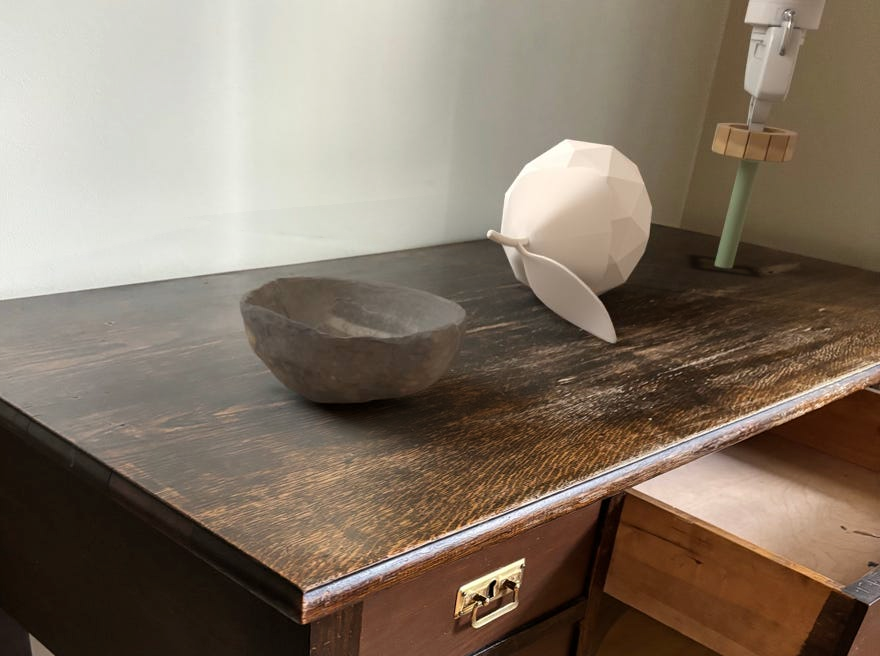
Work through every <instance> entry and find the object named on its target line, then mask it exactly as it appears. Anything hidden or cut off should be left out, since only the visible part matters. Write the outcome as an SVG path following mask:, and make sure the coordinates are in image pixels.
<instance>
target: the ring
mask: <svg viewBox="0 0 880 656" xmlns="http://www.w3.org/2000/svg"><path fill="white" fill-rule="evenodd" d="M748 126H749V124H747V123H737V122H736V123H735V122H718V123H717V124H716V127H715V131H714V136H713V141H712V145H711V151H712V152H713V153H715V154H719V155H722V156H727V157H732V158H737V159H747V160H755V161H759V162H769V163H771V162H773V163H785V162H792V159H793V156H794V153H795V149H796V145H797V141H798V138H799V134H798V133H797V131H793V130H788V129H784V128H780V127H773V126H766V125H764V129H763V132H757V131H750V130H748Z"/></svg>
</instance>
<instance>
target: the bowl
mask: <svg viewBox="0 0 880 656" xmlns="http://www.w3.org/2000/svg"><path fill="white" fill-rule="evenodd" d="M239 311H240V315H241V318H242V321H243V327H244V331H245V336H246V339H247V343H248V345H249V346H250V348H251V350H252V352H253V354H255V356H257V358H258V359H260V361H261V362H262V363H263V364H264V365H265V366H266V368H268V370H269V371H270V373H271V374H272V375H273V376H274V377H275V379H276V380H277V381H278V382H280V383H281V384H282V385H283V386H285V387H286V388H287V389H289V390H291V391H293V392H294V393H296V394H298V395H300V396H303V397H304V398H306V399H307V400H309V401H311V402H314V403H320V404H356V403H357V404H358V403H366V402H371V401H373V400H374V401H375V400H388V399H398V398H404V397H407V396H411V395H413V394H417V393H420V392H422V391H424V390H426V389H428V388H430V387H431V386H432V385H434V384H435V383H437V382H438V381H439V380H441V379H442V378H443V377H444V376H445V375H446V374H447V373H448V371H450V370H451V369H452V368H453V367H454V364H455V363H456V361H457V360H458V358H459V357H460V355H461V352H462V350H463V346H464V343H465V340H466V337H467V329H468V328H467V327H468V317H467V312H466V310H465V309H464V308H463V307H462V306H461V305H460V304H458V303H457V302H455V301H454V300H451V299H447V298H445V297H443V296H440V295H437V294H434V293H431V292H428V291H425V290H421V289H419V288H412V287H409V286H404V285H399V284H395V283H394V284H393V283H387V282H383V281H377V280H371V279H364V278H357V277H345V276H332V275H314V276H313V275H312V276H304V275H301V276H299V275H297V276H288V277H287V276H285V277H283V276H282V277H273V278H272V279H271V280H268V281H266V282H265V283H263V284H261V285H260V286H258V287H255V288H254V289H250V290H249V291H247V292H245V293H243V295H242V296H241V298H240V299H239Z"/></svg>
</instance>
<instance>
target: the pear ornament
mask: <svg viewBox="0 0 880 656" xmlns="http://www.w3.org/2000/svg"><path fill="white" fill-rule="evenodd" d="M651 203H652V202H651V199H650V197H649V194H648V190H647V188H646V184H645V182H644V180H643V177H642V175H641V172H640V170H639V167H638V165H637V164H636V163H634V162H633V161H632V160H631V159H629V158H628V156H626V155H624V154H623V153H622V152H621V151H619V150H618V149H617V148H616V147H614V145H608V144H603V143H595V142H590V141H589V142H588V141H583V140H582V141H581V140H575V139H568V138H565V139H564V140H562V141H561V142H559V143H558V144H556V145H554V146H553V147H552V148H550V149H548V150H547V151H545V152H544V153H542V154H541V155H539V156H537V157H536V158H534V159H533V160H531V161H530V162H528V163H526V164H525V165H524V167H523V168H522V169H521V171H520V172H519V174H518V175H517V176H516V178H515V179H514V181H513V182H512V184H511V185H510V186H509V188H508V189H507V191H506V192H505V193H504V201H503V209H502V217H501V226H500V232H498V231H497V230H496V231H495V230H494V229H489V230H488V231H487V233H486V237H487V239H489V240H491V241H493V242H495V243H497V244H499V245H501V246H502V248H503V251H504V253H505V255H506V258H507V261H508V263H509V265H510V267H511V269H512V271H513V272H512V273H514V276H515V279H516V280H517V281H519V282H521V283H522V284H524V285H526V286H527V287H529V288H530V289H531V290H532V291H533V293H534V295H535V296H536V297H537V298H538V299H539V300H540V301H541V302H542V303H543V304H544V305H545V306H546V307H547V308H548V309H550V310H551V311H552V312H554V313H555V314H557V315H558V316H560V317H561V318H563V319H564V320H566V321H567V322H569V323H571V324H572V325H575V326H576V327H578V328H580V329H581V330H584V331H585V332H587V333H589V334H591V335H594V336H595V337H597V338H599V339H601V340H603V341H604V342H607V343H609V342H610V344H616V342H617V335H616V330H615V328H614V325H613V322H612V319H611V317H610V314H609V312H608V311H607V308H606V307H605V305H604V304H603V302H602V300H601V299H600V298H599V296H601V295H603V294H605V293H607V292H608V291H609V292H610V291H611V290H613V289H614V288H617V287H619V286H621V285H622V284H625V283H626V282H627V280H628V279H629V277H630V275H631V274H632V272H633V271H634V269H635V268H636V266H637V265H638V263H639V262H640V261H641V258H642V257H643V255H644V253H645V252H646V248H647V245H648V241H649V238H650V231H651V230H650V229H651V221H652V212H653V206H652V204H651Z"/></svg>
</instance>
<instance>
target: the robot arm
mask: <svg viewBox="0 0 880 656" xmlns="http://www.w3.org/2000/svg"><path fill="white" fill-rule="evenodd" d="M826 1H827V0H749V1H748V4H747V8H746V12H745V16H744V24H748V25H750V26H752V29H751V35H750V41H749V47H748V54H747V60H746V65H745V66H746V67H745V74H744V81H743V82H744V83H743V89H744V91H746V92H747V93H748V94H750V95H751V98H750V102H749V108H748V115H747V122H746V124H749V126H748V130H750V131H757V132H763V129H764V126H766V122H767V120H768V118H769V115H770V112H771V110H772V106H773V103H774V102H776V103H777V102H778V103H782V102H783V103H784V102H785V100H786V99H787V96H788V94H789V90H790V87H791V83H792V80H793V75H794V71H795V67H796V63H797V58H798V54H799V49H800V46H803V45H804V42H805V38H806V34H807V31H808V30H810V31H818V30H819V27H820V23H821V19H822V15H823V12H824V8H825V4H826Z"/></svg>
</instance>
